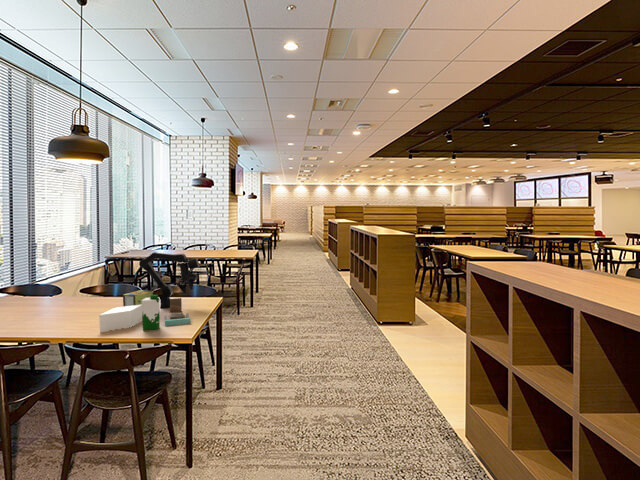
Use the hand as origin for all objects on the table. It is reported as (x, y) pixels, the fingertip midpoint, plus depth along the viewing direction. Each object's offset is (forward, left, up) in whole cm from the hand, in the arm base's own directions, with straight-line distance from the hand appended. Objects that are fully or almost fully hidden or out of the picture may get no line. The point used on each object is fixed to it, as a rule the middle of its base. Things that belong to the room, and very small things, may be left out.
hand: (188, 291), depth 276 cm
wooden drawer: (-7, -19, -13) cm, 24 cm away
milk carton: (-20, -42, -12) cm, 49 cm away
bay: (-6, -30, -12) cm, 33 cm away
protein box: (-31, -9, -13) cm, 35 cm away
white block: (-37, -30, -13) cm, 50 cm away
